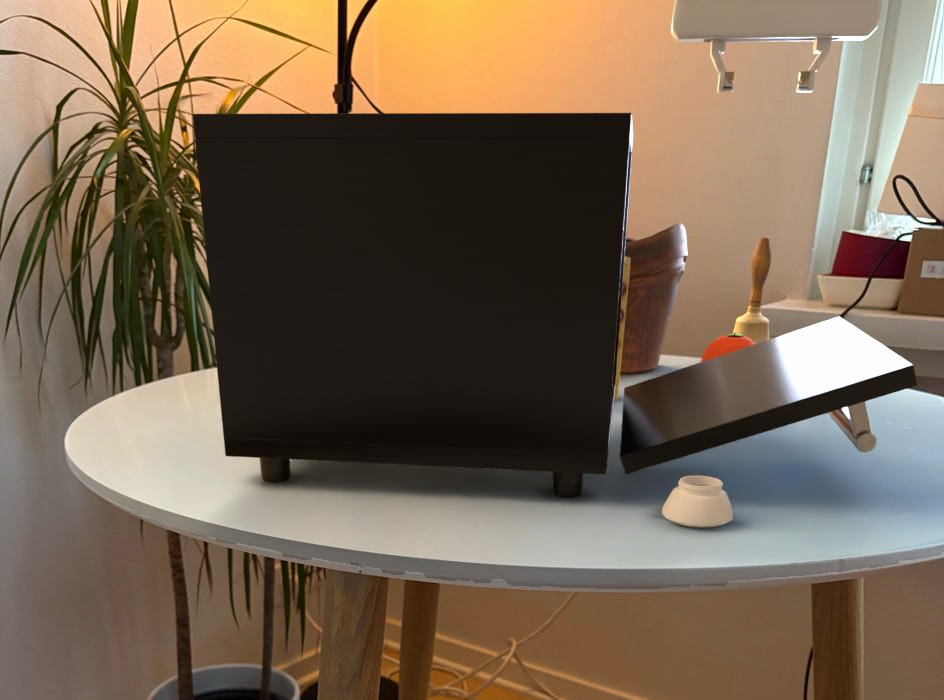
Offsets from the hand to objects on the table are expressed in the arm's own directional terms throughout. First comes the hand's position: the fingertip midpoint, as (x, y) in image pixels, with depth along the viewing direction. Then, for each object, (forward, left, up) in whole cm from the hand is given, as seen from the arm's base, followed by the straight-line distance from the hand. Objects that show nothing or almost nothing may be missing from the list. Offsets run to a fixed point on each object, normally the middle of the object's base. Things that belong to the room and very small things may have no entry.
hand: (764, 92), depth 102 cm
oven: (+28, +32, -31) cm, 53 cm away
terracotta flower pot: (+15, -17, -31) cm, 39 cm away
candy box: (+16, +2, -31) cm, 35 cm away
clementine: (0, 0, -31) cm, 31 cm away
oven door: (+11, +32, -31) cm, 46 cm away
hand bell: (-5, -28, -31) cm, 42 cm away
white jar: (+6, +49, -31) cm, 59 cm away
